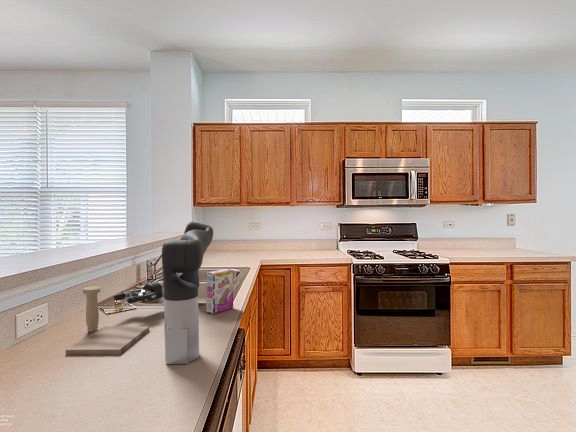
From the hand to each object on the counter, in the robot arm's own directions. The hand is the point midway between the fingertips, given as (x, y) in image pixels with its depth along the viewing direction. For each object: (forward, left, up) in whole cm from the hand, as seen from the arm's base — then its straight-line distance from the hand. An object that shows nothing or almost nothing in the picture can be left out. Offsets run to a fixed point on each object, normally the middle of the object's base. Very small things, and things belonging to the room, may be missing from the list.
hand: (121, 299), depth 130 cm
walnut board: (-19, -7, -9) cm, 22 cm away
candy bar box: (+15, -34, -9) cm, 38 cm away
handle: (-9, +5, -9) cm, 14 cm away
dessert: (+18, +11, -9) cm, 23 cm away
